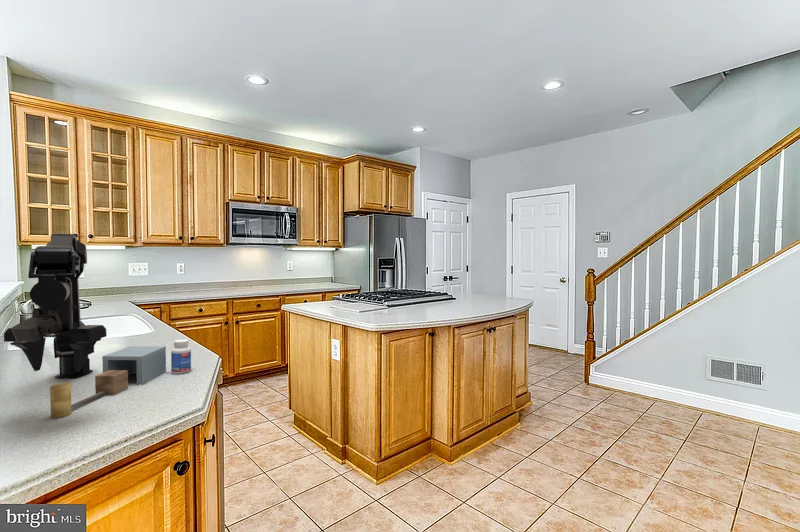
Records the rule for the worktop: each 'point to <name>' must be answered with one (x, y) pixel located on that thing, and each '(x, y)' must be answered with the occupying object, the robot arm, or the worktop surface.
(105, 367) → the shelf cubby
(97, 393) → the block
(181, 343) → the pill bottle
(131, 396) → the worktop surface
